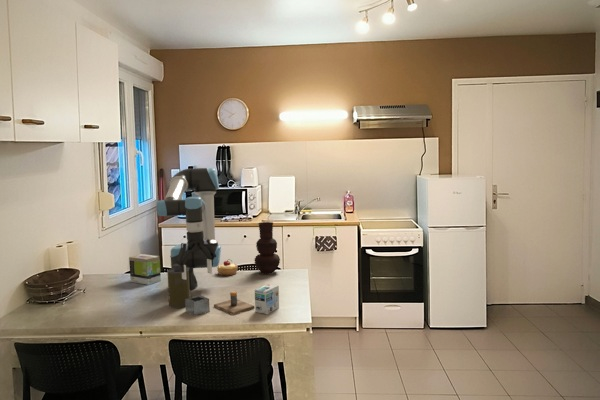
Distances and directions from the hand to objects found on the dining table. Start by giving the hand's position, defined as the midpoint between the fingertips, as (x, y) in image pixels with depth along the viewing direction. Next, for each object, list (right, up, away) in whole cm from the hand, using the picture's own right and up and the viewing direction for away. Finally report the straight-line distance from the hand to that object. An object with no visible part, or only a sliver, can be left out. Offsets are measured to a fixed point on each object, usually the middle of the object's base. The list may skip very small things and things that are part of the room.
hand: (197, 276), depth 233 cm
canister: (-11, -16, +12) cm, 23 cm away
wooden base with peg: (+16, -16, +6) cm, 23 cm away
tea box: (-41, -12, +55) cm, 70 cm away
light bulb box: (+32, -16, +2) cm, 36 cm away
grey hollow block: (0, -17, +2) cm, 17 cm away
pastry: (+4, -9, +68) cm, 68 cm away
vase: (+28, -8, +67) cm, 73 cm away
